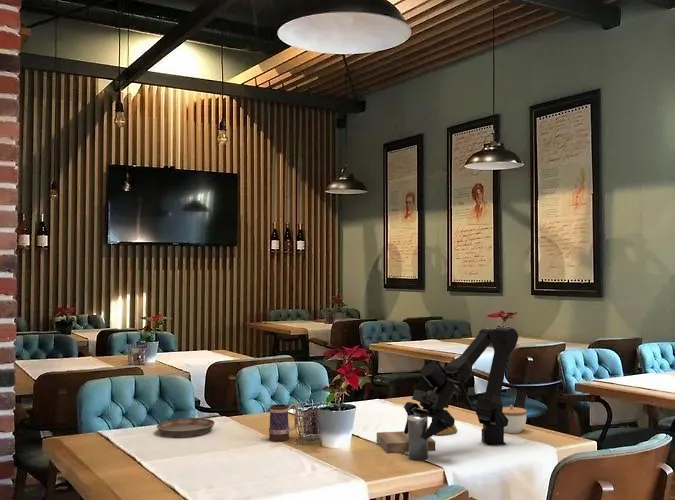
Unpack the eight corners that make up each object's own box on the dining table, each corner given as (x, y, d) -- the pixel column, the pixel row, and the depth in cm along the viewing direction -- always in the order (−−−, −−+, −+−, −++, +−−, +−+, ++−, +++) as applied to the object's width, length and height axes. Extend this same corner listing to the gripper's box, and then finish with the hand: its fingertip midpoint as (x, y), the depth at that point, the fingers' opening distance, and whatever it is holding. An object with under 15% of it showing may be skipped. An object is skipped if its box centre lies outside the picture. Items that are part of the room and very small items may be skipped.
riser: (422, 439, 255) (421, 430, 255) (435, 450, 239) (435, 441, 239) (376, 441, 252) (376, 432, 252) (387, 453, 237) (387, 443, 237)
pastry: (441, 437, 258) (441, 426, 258) (427, 434, 263) (427, 423, 263) (459, 433, 264) (458, 422, 264) (444, 430, 269) (444, 420, 270)
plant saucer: (156, 440, 256) (156, 431, 256) (156, 428, 276) (156, 419, 276) (216, 437, 261) (216, 427, 261) (212, 425, 281) (212, 416, 281)
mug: (270, 442, 252) (270, 407, 252) (267, 437, 259) (267, 403, 259) (300, 440, 254) (299, 405, 254) (296, 436, 261) (296, 401, 261)
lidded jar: (530, 430, 268) (530, 404, 268) (521, 436, 259) (520, 409, 259) (502, 426, 274) (502, 401, 274) (491, 432, 265) (491, 406, 265)
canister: (424, 455, 233) (424, 414, 234) (430, 460, 228) (429, 417, 228) (406, 456, 232) (406, 414, 233) (411, 461, 227) (410, 418, 227)
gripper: (408, 376, 240) (381, 414, 234) (447, 384, 225) (419, 425, 219) (426, 398, 245) (400, 436, 238) (466, 407, 229) (440, 448, 223)
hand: (414, 435), depth 229 cm, fingers open, 9 cm apart
